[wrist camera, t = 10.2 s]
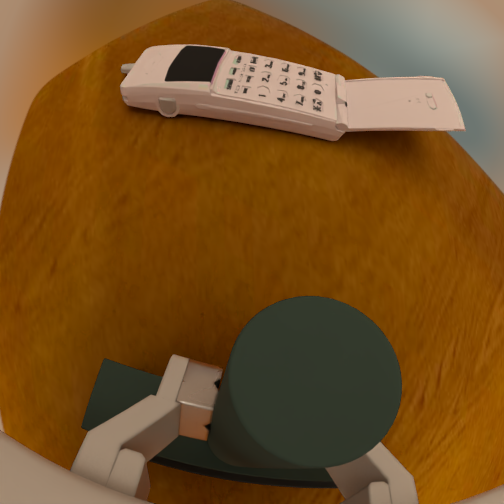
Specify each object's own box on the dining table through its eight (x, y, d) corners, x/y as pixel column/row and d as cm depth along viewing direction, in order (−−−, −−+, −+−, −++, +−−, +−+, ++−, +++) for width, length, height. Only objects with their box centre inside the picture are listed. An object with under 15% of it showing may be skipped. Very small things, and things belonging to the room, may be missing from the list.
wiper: (104, 444, 11) (-71, 362, 2) (124, 375, 14) (30, 194, 5) (339, 487, 12) (549, 456, 3) (346, 419, 14) (526, 310, 5)
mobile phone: (471, 134, 14) (77, 55, 13) (426, 179, 20) (98, 115, 19) (448, 79, 16) (119, 12, 15) (415, 124, 22) (129, 67, 21)
